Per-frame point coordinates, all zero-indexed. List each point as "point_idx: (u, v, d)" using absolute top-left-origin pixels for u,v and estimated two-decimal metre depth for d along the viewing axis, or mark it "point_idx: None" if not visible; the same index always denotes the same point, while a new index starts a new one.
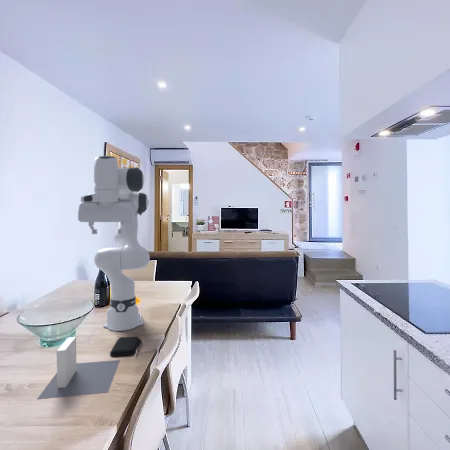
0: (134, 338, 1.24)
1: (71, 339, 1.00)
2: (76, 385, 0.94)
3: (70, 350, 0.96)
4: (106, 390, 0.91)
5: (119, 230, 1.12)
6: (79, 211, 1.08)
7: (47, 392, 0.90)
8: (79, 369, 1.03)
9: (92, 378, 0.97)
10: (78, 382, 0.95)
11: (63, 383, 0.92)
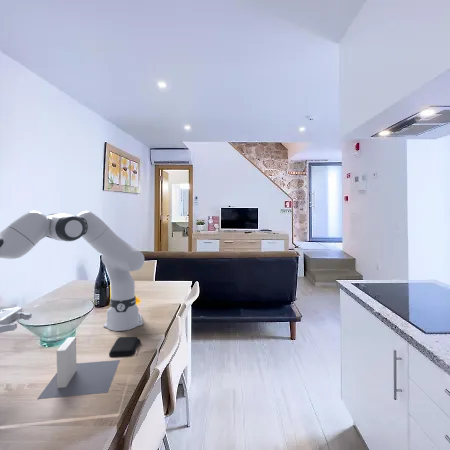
0: (133, 338, 1.24)
1: (71, 339, 1.00)
2: (76, 385, 0.94)
3: (70, 350, 0.96)
4: (106, 390, 0.91)
5: None
6: None
7: (47, 392, 0.90)
8: (79, 369, 1.03)
9: (92, 378, 0.97)
10: (78, 382, 0.95)
11: (63, 383, 0.92)
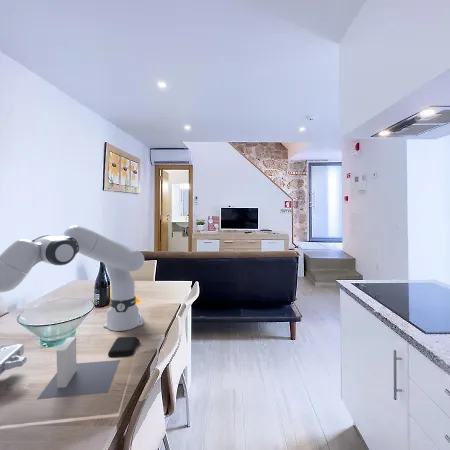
0: (132, 338, 1.24)
1: (71, 339, 1.00)
2: (76, 385, 0.94)
3: (70, 350, 0.96)
4: (106, 390, 0.91)
5: None
6: None
7: (47, 392, 0.90)
8: (79, 369, 1.03)
9: (92, 378, 0.97)
10: (78, 382, 0.95)
11: (63, 383, 0.92)
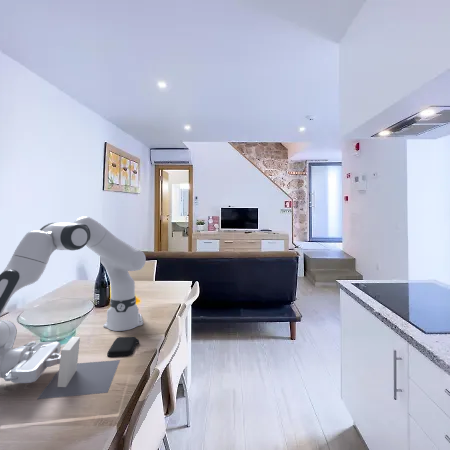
0: (132, 338, 1.24)
1: (75, 339, 1.00)
2: (76, 385, 0.94)
3: (73, 350, 0.96)
4: (106, 390, 0.91)
5: None
6: None
7: (47, 392, 0.90)
8: (79, 369, 1.03)
9: (92, 378, 0.97)
10: (78, 382, 0.95)
11: (63, 383, 0.92)
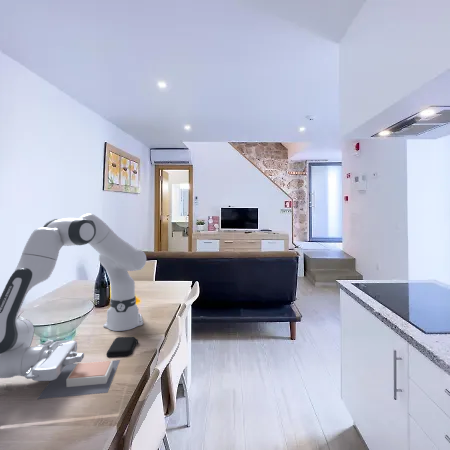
0: (131, 338, 1.23)
1: (111, 368, 1.02)
2: None
3: None
4: (106, 390, 0.91)
5: None
6: None
7: (47, 392, 0.90)
8: None
9: None
10: None
11: (70, 384, 0.93)
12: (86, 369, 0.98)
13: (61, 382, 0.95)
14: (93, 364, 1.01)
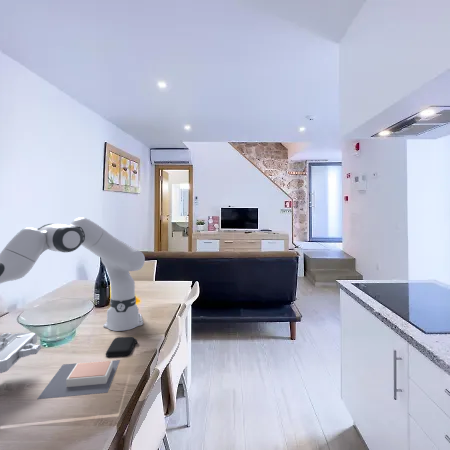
0: (130, 338, 1.23)
1: (111, 368, 1.02)
2: None
3: None
4: (106, 390, 0.91)
5: None
6: None
7: (47, 392, 0.90)
8: None
9: None
10: None
11: (70, 384, 0.93)
12: (86, 369, 0.98)
13: (61, 382, 0.95)
14: (93, 364, 1.01)
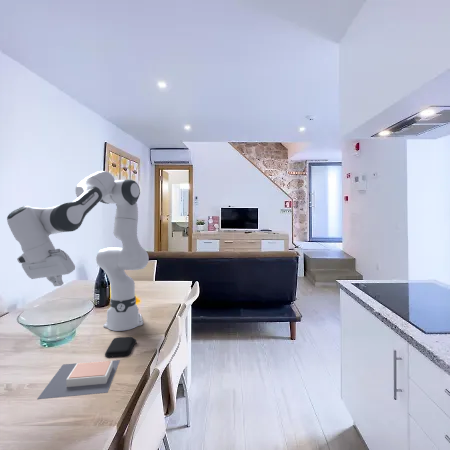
0: (129, 338, 1.23)
1: (111, 368, 1.02)
2: None
3: None
4: (106, 390, 0.91)
5: (56, 283, 1.04)
6: (24, 270, 1.04)
7: (47, 392, 0.90)
8: None
9: None
10: None
11: (70, 384, 0.93)
12: (86, 369, 0.98)
13: (61, 382, 0.95)
14: (93, 364, 1.01)
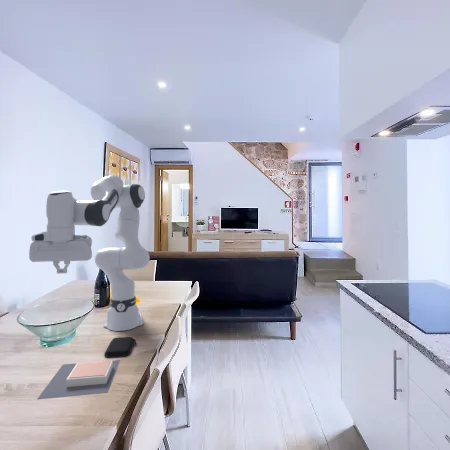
0: (128, 338, 1.23)
1: (111, 368, 1.02)
2: None
3: None
4: (106, 390, 0.91)
5: (62, 269, 1.05)
6: (30, 250, 1.02)
7: (47, 392, 0.90)
8: None
9: None
10: None
11: (70, 384, 0.93)
12: (86, 369, 0.98)
13: (61, 382, 0.95)
14: (93, 364, 1.01)
